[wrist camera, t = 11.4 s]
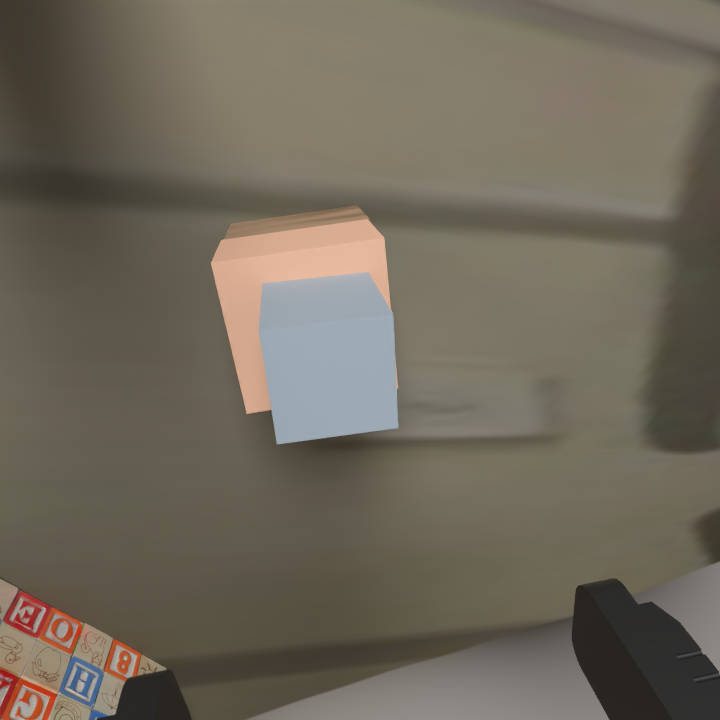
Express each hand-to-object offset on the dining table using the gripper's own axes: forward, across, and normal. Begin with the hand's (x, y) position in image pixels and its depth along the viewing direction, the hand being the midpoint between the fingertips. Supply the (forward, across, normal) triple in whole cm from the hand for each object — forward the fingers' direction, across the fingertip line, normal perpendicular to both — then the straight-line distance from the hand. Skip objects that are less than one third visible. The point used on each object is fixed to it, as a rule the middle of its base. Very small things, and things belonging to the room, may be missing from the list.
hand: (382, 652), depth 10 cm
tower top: (+22, 0, 0) cm, 22 cm away
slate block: (+17, 0, 0) cm, 17 cm away
